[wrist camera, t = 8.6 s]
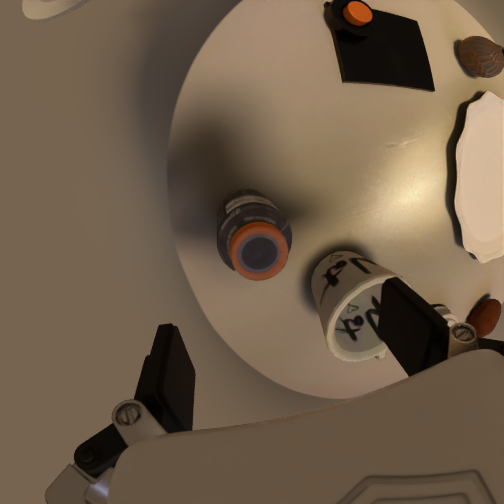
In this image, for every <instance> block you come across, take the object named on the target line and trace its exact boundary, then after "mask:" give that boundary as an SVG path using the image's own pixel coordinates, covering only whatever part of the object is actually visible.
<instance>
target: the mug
mask: <svg viewBox="0 0 504 504" xmlns="http://www.w3.org/2000/svg"><path fill="white" fill-rule="evenodd" d="M392 277H398V278H400V279H401V280H402V281H403V282H404V283H406V284H407V285H408V286H409V287H410V288H411V289H413V288H412V286H411V284H410V283H409V282H408V281H407V280H406V279H404V278H403V277H402V276H400V275H398V274H396V273H394V272H392V271H390V270H388V269H386V268H384V267H382V266H380V265H378V264H376V263H374V262H372V261H370V260H368V259H366V258H364V257H362V256H360V255H358V254H356V253H353V252H349V251H340V252H335V253H333V254H330V255H328V256H327V257H326V258H324V259H323V260H322V261H321V262H320V263H319V264H318V266H317V267H316V268H315V270H314V273H313V276H312V279H311V289H312V292H313V296H314V299H315V303H316V306H317V310H318V313H319V317H320V321H321V324H322V328H323V332H324V335H325V339H326V343H327V347H328V349H329V350H330V351H331V352H332V353H333V354H334V355H335V356H336V357H337V358H339V359H342V360H344V361H352V362H359V361H363V360H367V359H371V358H373V357H376V358H377V359H378V360H383V359H384V358H385V351H386V350H387V349H388V347H387V345H386V344H385V343H384V341H383V340H382V339H381V337H380V336H379V334H378V331H377V327H378V319H379V310H380V301H381V289H382V284H383V283H384V282H385V280H386V279H388V278H392Z"/></svg>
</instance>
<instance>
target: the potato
mask: <svg viewBox="0 0 504 504" xmlns="http://www.w3.org/2000/svg"><path fill="white" fill-rule="evenodd" d="M500 314H501V304H500V302H499V301H498V300H496V299H490V300H487V301H485V302H483V303H482V304H481V305H480V306H479V307H477V308H476V309H475V311H474V312H473V313H472V315H471V316H470V318H469V320H468V324H469V325H471V326H473V327H474V328H475V330H476V331H477V334H478V337H479V338H482V337H484V336H486V335H488V334H490V333H491V332H492V331H493V330H494V328H495V326H496V324H497V322H498V320H499V317H500Z"/></svg>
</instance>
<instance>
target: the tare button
mask: <svg viewBox="0 0 504 504" xmlns="http://www.w3.org/2000/svg"><path fill="white" fill-rule="evenodd" d="M343 15H344V17H345V19H346V20H347V21H348V22H349V23H351V24H353V25H355V26H363V25H365V24H367V23H368V22H369V21H371V20H372V13H371V11H370V9H369V8H368V7H367V6H366V5H364V4H363V3H361V2H357V1H352V2H350V3H349V4H348V5H347V6H346V7H345V8H344V9H343Z"/></svg>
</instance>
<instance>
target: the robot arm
mask: <svg viewBox="0 0 504 504" xmlns="http://www.w3.org/2000/svg"><path fill="white" fill-rule="evenodd" d="M40 1H43V2H51V1H55V0H40ZM377 331H378V334H379V336H380V337H381V339H382V340H383V341H384V343H385V344H386V345H387V347H388V348H389V349H390V351H391V352H392V354H393V355H394V356H395V358H396V359H397V360H398V362H399V363H400V365H401V366H402V367H403V369H404V370H405V372H406V373H407V374H408V376H409V377H408V378H406V379H403V380H401V381H399V382H396V383H394V384H391V385H389V386H386V387H384V388H381V389H378V390H376V391H373V392H370V393H367V394H364V395H362V396H359V397H356V398H353V399H350V400H347V401H344V402H341V403H337V404H334V405H330V406H327V407H323V408H320V409H316V410H312V411H308V412H304V413H300V414H296V415H291V416H287V417H282V418H277V419H272V420H267V421H262V422H256V423H249V424H243V425H235V426H228V427H221V428H212V429H202V430H194V431H192V425H193V407H194V389H195V369H194V367H193V364H192V362H191V360H190V357H189V355H188V352H187V350H186V348H185V345H184V342H183V340H182V337H181V335H180V332H179V329H178V327H177V326H173V324H171V323H170V324H163V325H159V326H158V329H157V332H156V336H155V339H154V343H153V346H152V349H151V353H150V355H148V356H146V358H145V360H144V364H143V367H142V371H141V375H140V378H139V382H138V385H137V389H136V393H135V396H134V399H133V400H132V399H130V400H125V401H123V402H121V403H119V404H118V405H117V406H116V407H115V408H114V410H113V412H112V421H113V423H112V424H111V425H109V426H108V427H106V428H105V429H103V430H102V431H100V432H99V433H97V434H96V435H94V436H93V437H91V438H90V439H88V440H86V441H85V442H84V443H82V444H81V445H79V447H77V449H76V450H75V453H74V461H75V463H74V464H73V465H70V464H69V465H68V466H67V467H66V468H65V469H64V470H63V471H62V472H61V474H60V475H59V476H58V477H57V478H56V479H55V480H54V482H53V483H52V484H51V485H50V486H49V487H48V488H47V490H46V492H45V500H46V502H47V504H504V341H498V340H492V339H485V338H479V337H478V334H477V331H476V330H475V328H474V327H473V326H471V325H469V324H467V323H463V322H460V323H455V324H453V325H452V326H451V327H449V326H448V321H447V320H446V319H445V318H444V317H443V316H442V315H441V314H439V313H438V312H437V311H436V310H435V309H434V308H433V307H432V306H431V305H430V304H428V303H427V302H426V301H425V300H424V299H423V298H422V297H421V296H419V295H418V294H417V293H416V292H415V291H414V290H413V289H411V288H410V287H409V286H408V285H407V284H406V283H404V282H403V281H402V280H401V279H400V278H398V277H392V278H388V279H386V280H385V282H384V283H383V284H382V289H381V301H380V310H379V319H378V327H377Z"/></svg>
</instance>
